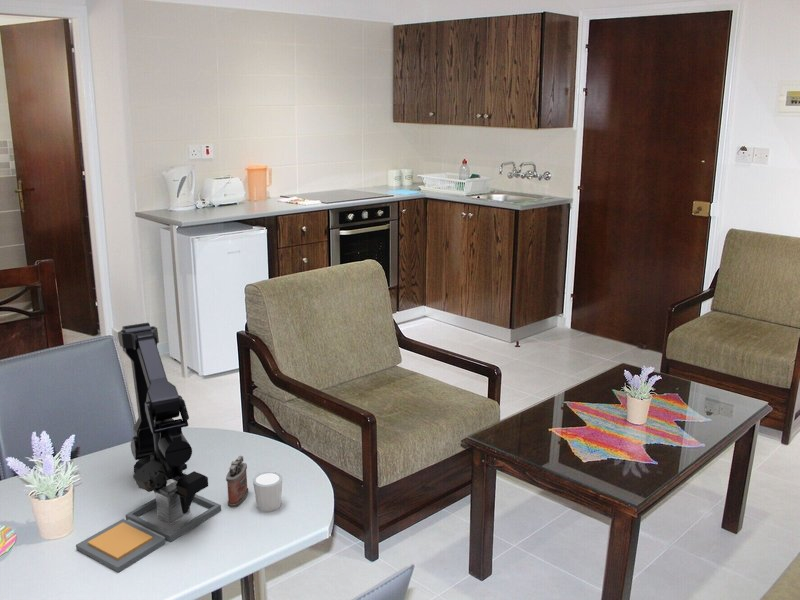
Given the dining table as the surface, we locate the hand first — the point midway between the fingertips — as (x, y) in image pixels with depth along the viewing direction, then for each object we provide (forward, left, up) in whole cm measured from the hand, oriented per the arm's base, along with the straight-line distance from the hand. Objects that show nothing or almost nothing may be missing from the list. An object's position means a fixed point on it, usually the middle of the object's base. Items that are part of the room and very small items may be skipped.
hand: (173, 507), depth 175 cm
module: (0, 0, -2) cm, 2 cm away
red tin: (+7, +14, -2) cm, 15 cm away
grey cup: (+15, +16, -2) cm, 22 cm away
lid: (0, -14, -2) cm, 15 cm away
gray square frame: (0, 0, -2) cm, 2 cm away
